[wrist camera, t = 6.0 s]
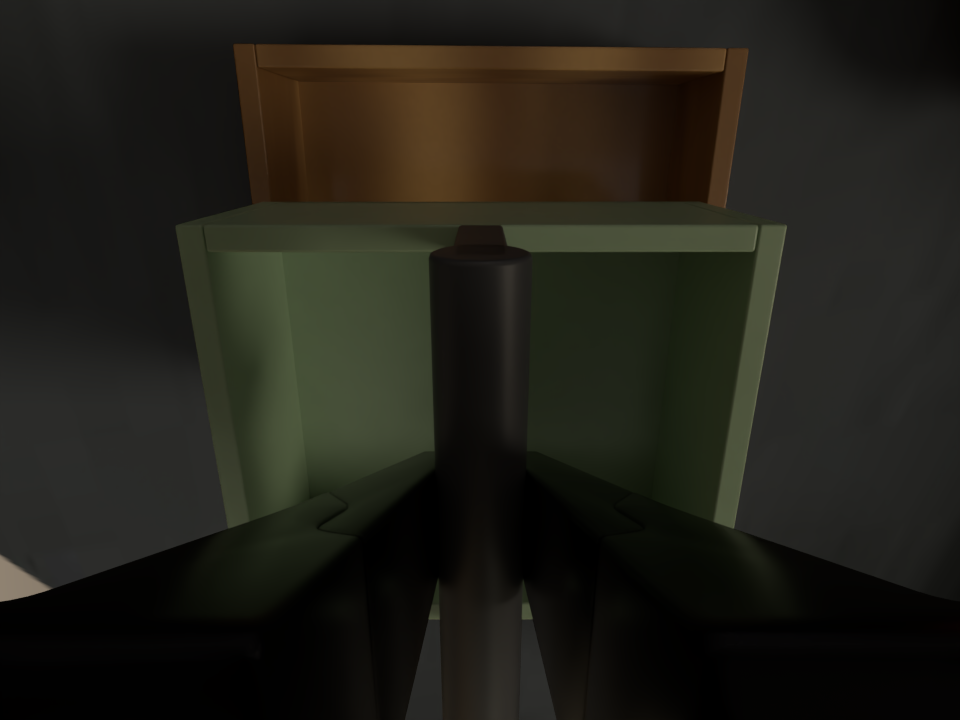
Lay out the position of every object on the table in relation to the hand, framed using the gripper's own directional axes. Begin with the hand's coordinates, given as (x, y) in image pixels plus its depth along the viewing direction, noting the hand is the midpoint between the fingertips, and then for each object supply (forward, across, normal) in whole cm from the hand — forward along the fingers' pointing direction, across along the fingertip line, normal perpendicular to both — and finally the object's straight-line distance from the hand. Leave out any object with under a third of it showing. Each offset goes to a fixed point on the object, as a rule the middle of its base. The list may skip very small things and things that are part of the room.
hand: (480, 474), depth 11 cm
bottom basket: (+13, 0, +2) cm, 13 cm away
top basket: (+6, 0, 0) cm, 6 cm away
